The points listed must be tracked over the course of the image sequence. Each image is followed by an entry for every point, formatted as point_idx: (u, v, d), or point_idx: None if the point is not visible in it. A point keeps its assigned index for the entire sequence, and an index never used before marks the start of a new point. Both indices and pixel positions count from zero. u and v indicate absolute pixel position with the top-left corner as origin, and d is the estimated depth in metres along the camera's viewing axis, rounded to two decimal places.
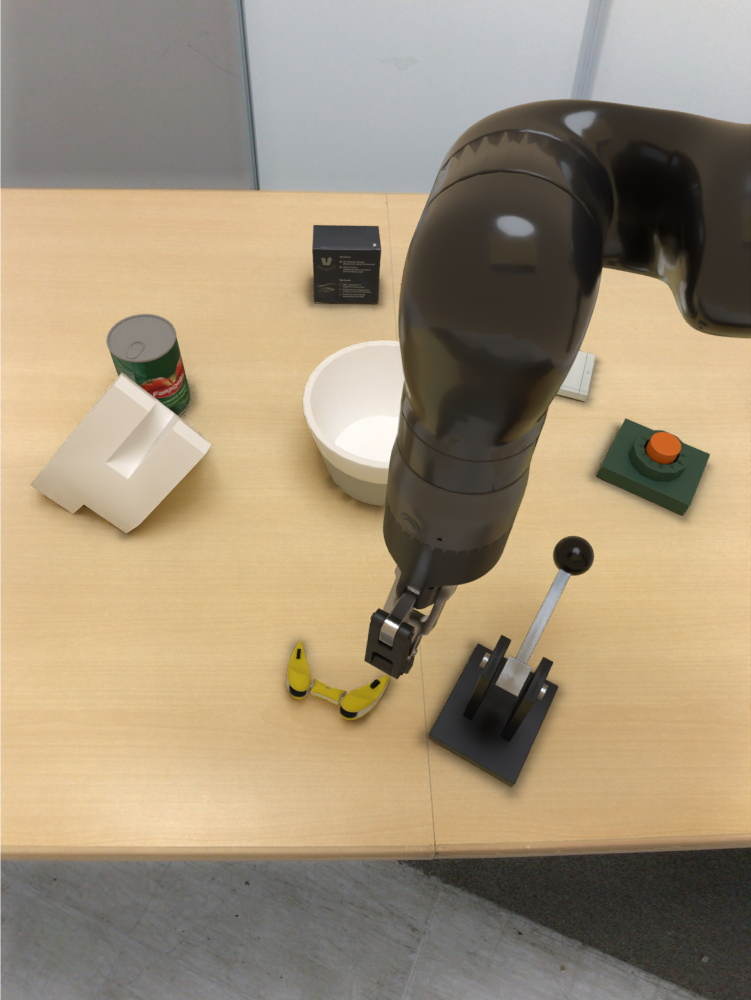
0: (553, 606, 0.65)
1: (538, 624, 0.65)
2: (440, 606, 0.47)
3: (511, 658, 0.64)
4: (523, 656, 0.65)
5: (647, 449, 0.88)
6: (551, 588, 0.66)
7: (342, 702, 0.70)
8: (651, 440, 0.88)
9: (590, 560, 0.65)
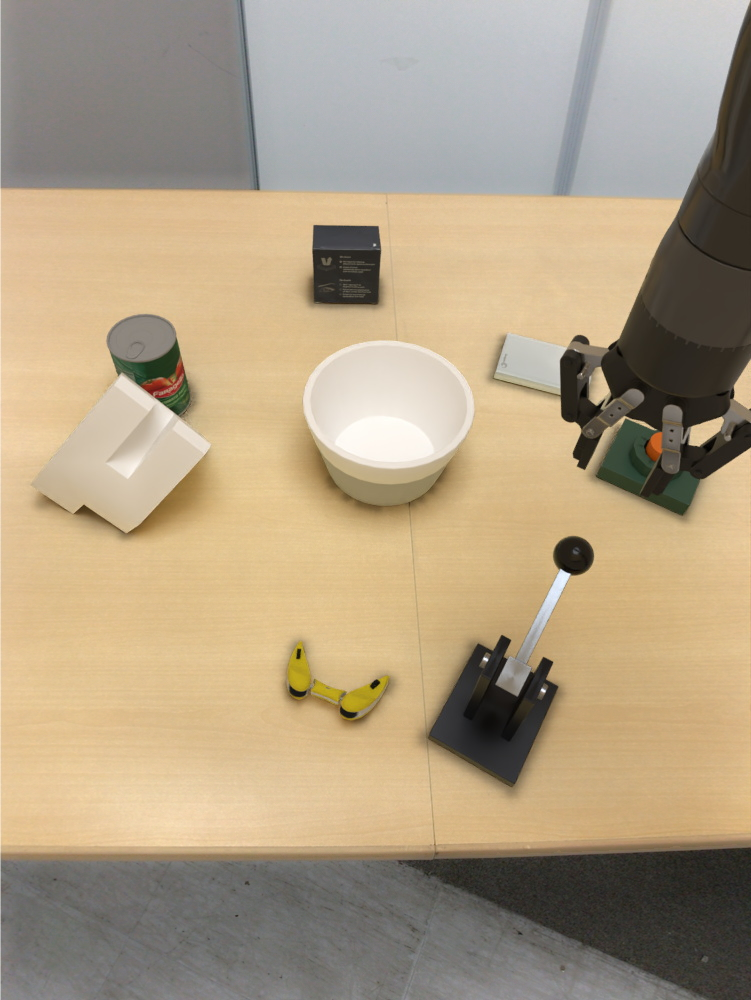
0: (553, 606, 0.65)
1: (538, 624, 0.65)
2: (614, 400, 0.49)
3: (511, 658, 0.64)
4: (523, 656, 0.65)
5: (647, 449, 0.88)
6: (551, 588, 0.66)
7: (342, 702, 0.70)
8: (651, 440, 0.88)
9: (590, 560, 0.65)
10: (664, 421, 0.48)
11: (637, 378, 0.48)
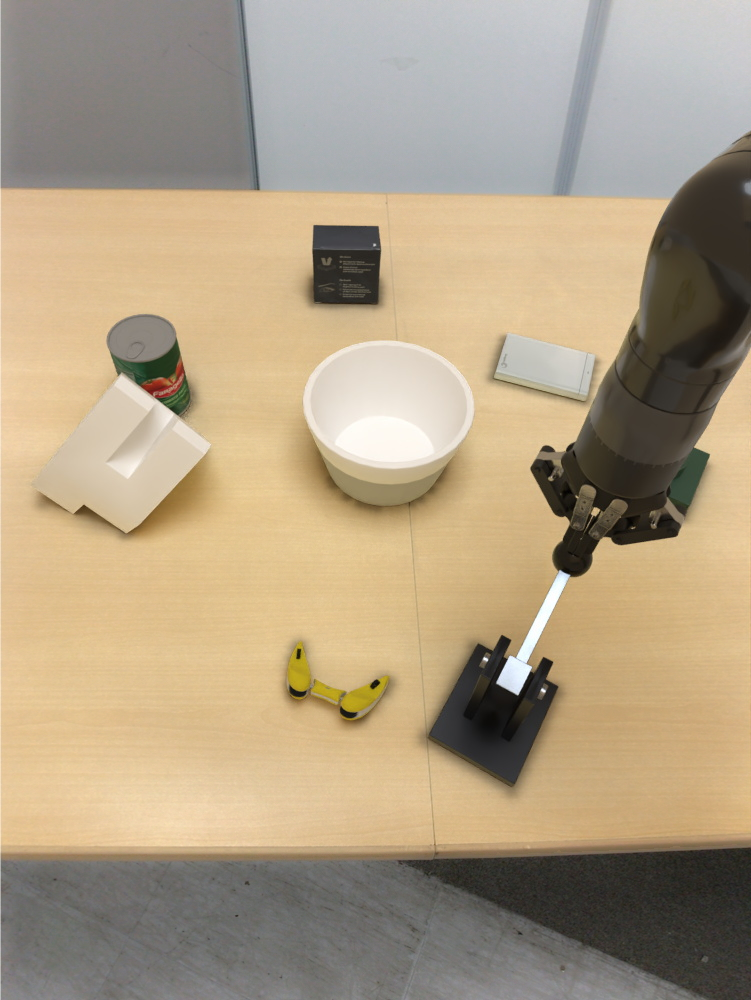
0: (553, 606, 0.66)
1: (538, 624, 0.66)
2: (578, 497, 0.59)
3: (511, 657, 0.65)
4: (523, 656, 0.65)
5: None
6: (551, 589, 0.66)
7: (342, 702, 0.70)
8: None
9: (589, 561, 0.66)
10: (609, 507, 0.57)
11: None
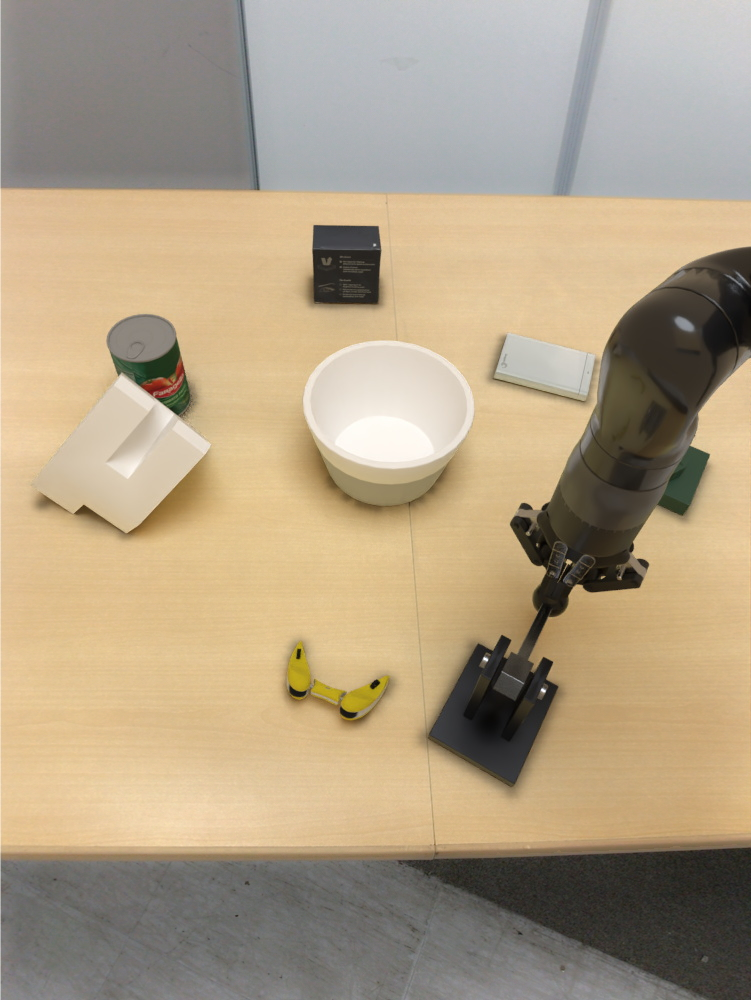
0: (542, 627, 0.70)
1: (531, 637, 0.69)
2: (552, 550, 0.66)
3: (513, 653, 0.66)
4: None
5: None
6: (537, 614, 0.71)
7: (342, 702, 0.70)
8: None
9: (568, 598, 0.73)
10: (579, 561, 0.64)
11: None
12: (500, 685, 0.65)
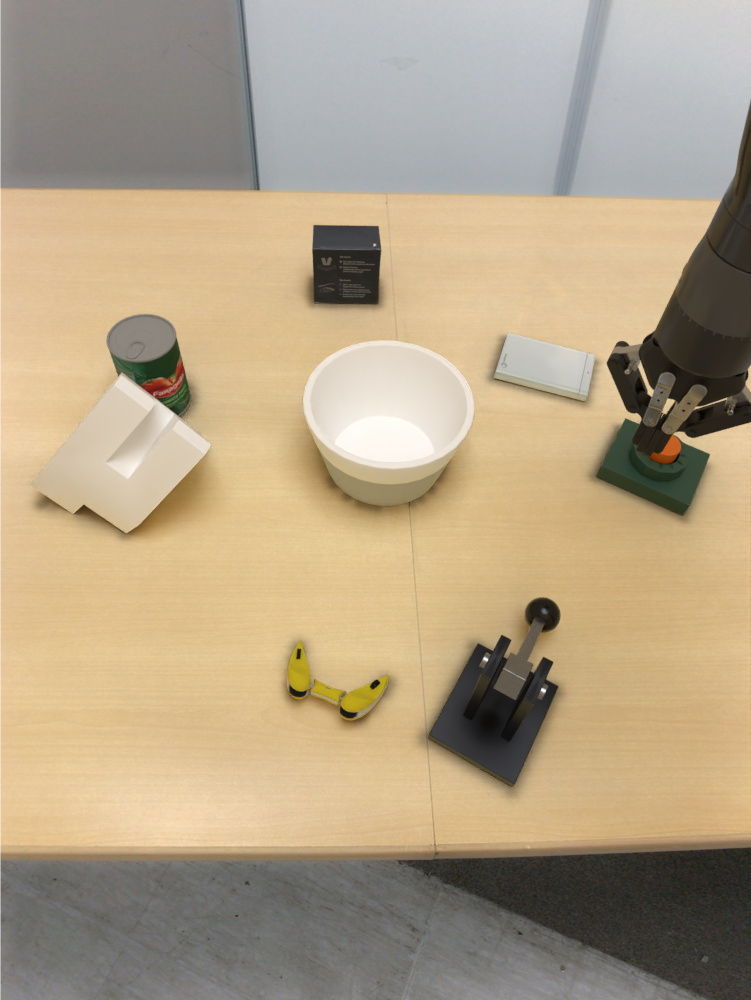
0: (537, 636, 0.71)
1: (528, 643, 0.69)
2: (655, 387, 0.60)
3: (513, 654, 0.66)
4: None
5: None
6: (532, 625, 0.72)
7: (342, 702, 0.70)
8: None
9: (560, 613, 0.75)
10: (687, 395, 0.59)
11: (669, 363, 0.59)
12: (501, 683, 0.64)
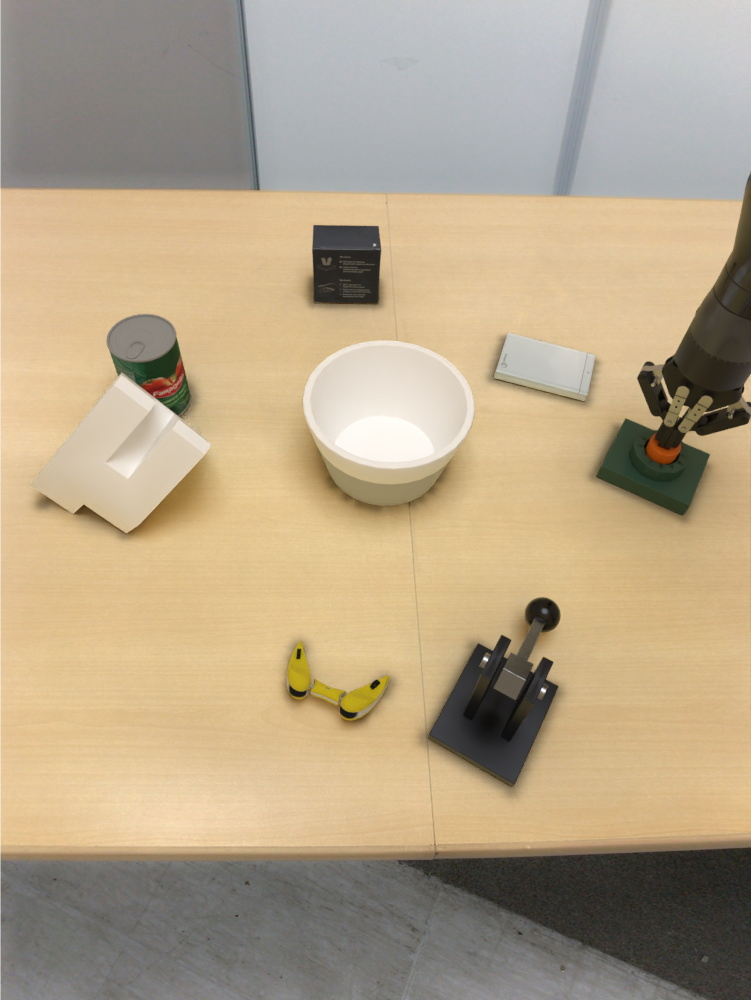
0: (537, 636, 0.71)
1: (528, 643, 0.69)
2: (674, 397, 0.80)
3: (513, 654, 0.66)
4: None
5: (647, 449, 0.88)
6: (532, 625, 0.72)
7: (342, 702, 0.70)
8: (651, 440, 0.88)
9: (560, 613, 0.75)
10: (698, 403, 0.79)
11: (685, 379, 0.78)
12: (501, 683, 0.64)
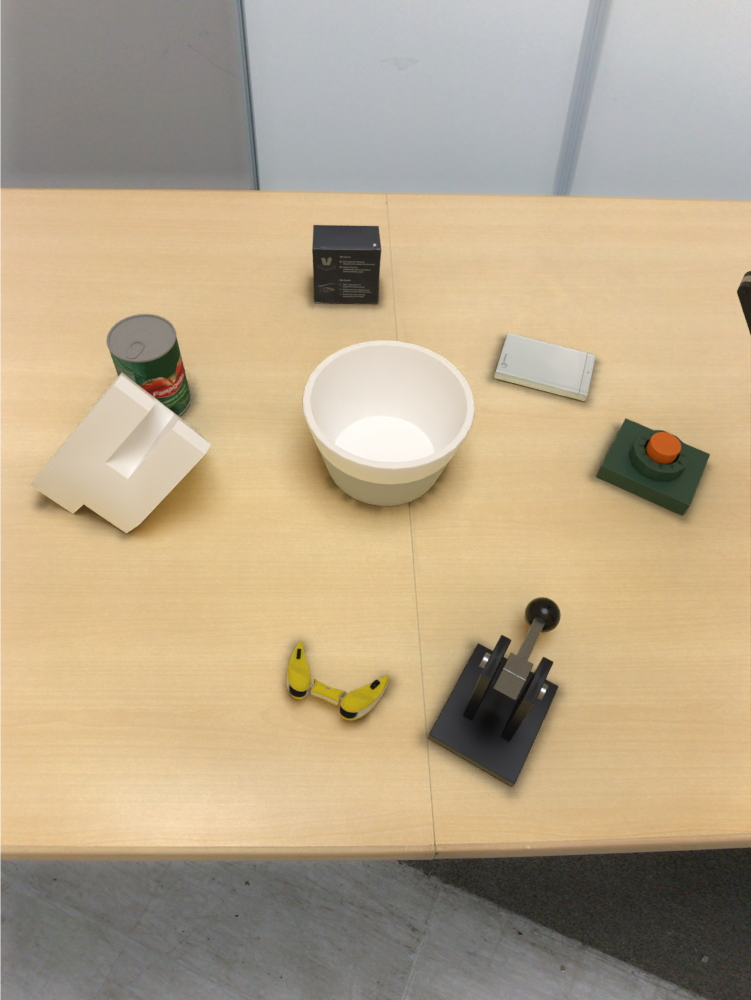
0: (537, 636, 0.71)
1: (528, 643, 0.69)
2: None
3: (513, 654, 0.66)
4: None
5: (647, 449, 0.88)
6: (532, 625, 0.72)
7: (342, 702, 0.70)
8: (651, 440, 0.88)
9: (560, 613, 0.75)
10: None
11: None
12: (501, 683, 0.64)
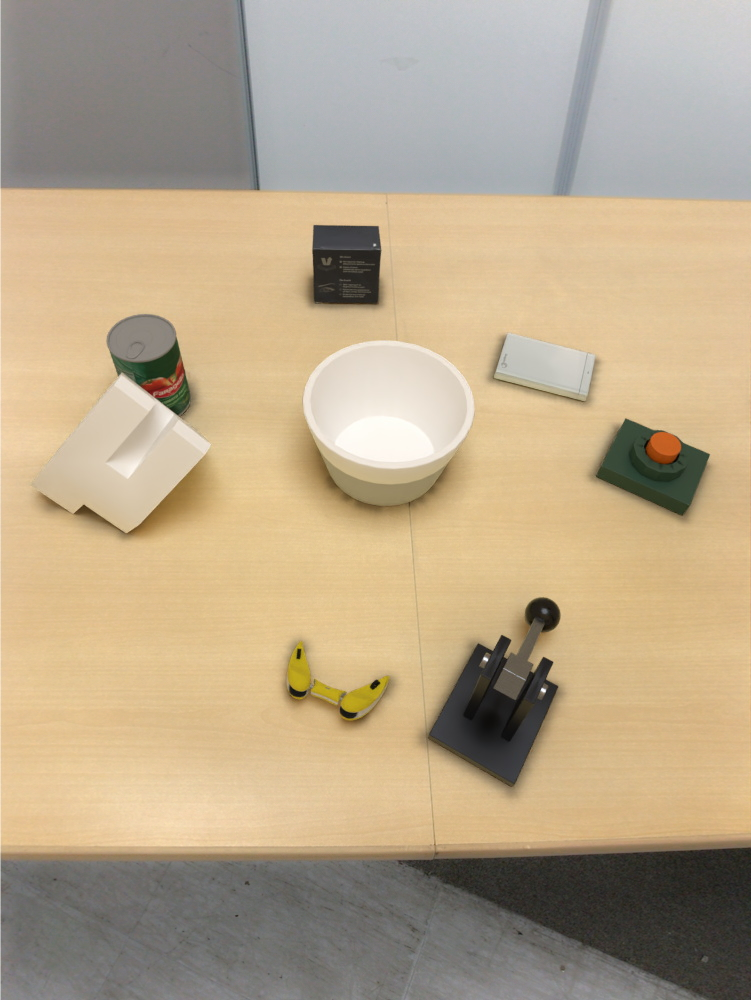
0: (537, 636, 0.71)
1: (528, 643, 0.69)
2: None
3: (513, 654, 0.66)
4: None
5: (647, 449, 0.88)
6: (532, 625, 0.72)
7: (342, 702, 0.70)
8: (651, 440, 0.88)
9: (560, 613, 0.75)
10: None
11: None
12: (501, 683, 0.64)
